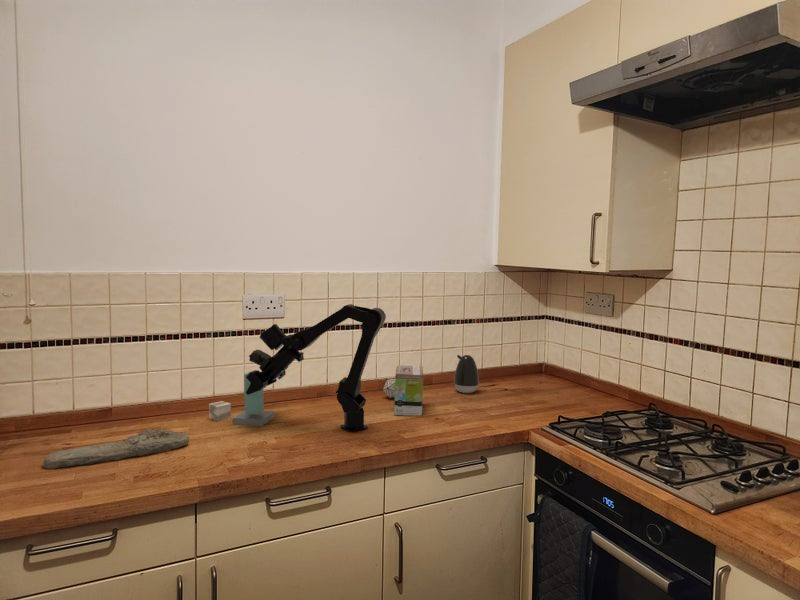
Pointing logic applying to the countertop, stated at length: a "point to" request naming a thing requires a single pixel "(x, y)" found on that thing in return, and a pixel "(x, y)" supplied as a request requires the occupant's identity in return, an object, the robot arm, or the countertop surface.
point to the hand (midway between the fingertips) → (250, 391)
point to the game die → (389, 388)
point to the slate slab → (254, 418)
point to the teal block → (253, 399)
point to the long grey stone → (118, 449)
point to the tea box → (408, 390)
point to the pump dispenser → (466, 375)
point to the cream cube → (219, 411)
